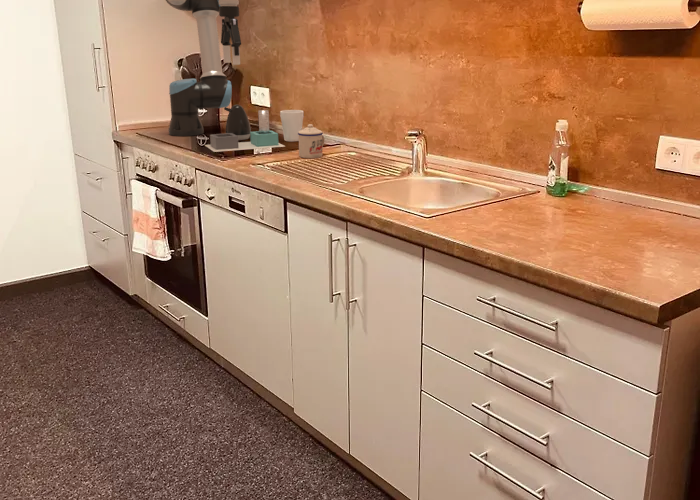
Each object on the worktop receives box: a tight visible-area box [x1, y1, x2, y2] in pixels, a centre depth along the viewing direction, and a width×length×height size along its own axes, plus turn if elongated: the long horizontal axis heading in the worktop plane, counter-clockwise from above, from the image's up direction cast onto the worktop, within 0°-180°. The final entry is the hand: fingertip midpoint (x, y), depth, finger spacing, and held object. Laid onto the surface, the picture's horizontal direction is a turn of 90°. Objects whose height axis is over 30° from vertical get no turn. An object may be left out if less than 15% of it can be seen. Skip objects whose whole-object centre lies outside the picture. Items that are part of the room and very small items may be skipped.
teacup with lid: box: [298, 123, 325, 159], centre depth 256 cm, size 12×9×12 cm
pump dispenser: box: [223, 104, 252, 141], centre depth 284 cm, size 10×10×15 cm
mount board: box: [204, 132, 286, 153], centre depth 269 cm, size 16×28×6 cm, turn 114°
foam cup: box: [279, 109, 305, 142], centre depth 280 cm, size 10×9×13 cm
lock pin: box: [257, 109, 270, 134], centre depth 270 cm, size 4×4×13 cm
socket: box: [250, 130, 279, 147], centre depth 272 cm, size 9×9×4 cm
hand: (231, 63), depth 269 cm, fingers open, 13 cm apart
